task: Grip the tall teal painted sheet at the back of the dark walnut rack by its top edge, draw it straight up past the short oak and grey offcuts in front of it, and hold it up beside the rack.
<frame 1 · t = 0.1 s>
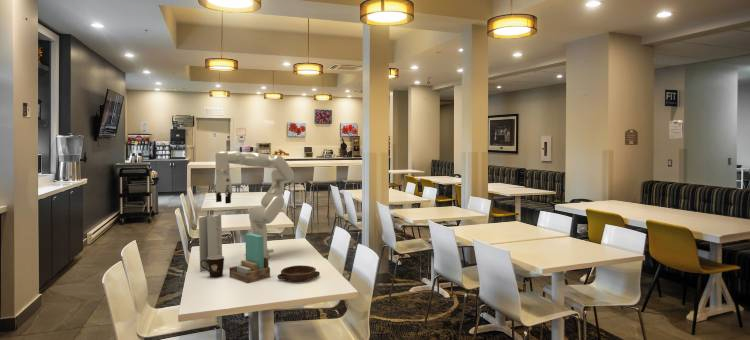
hand: (223, 202, 269), 37 cm above the table, tool pointing down, fingers open, 9 cm apart
coffee mug: (213, 275, 251), on the table
tall grey panel: (211, 268, 265), on the table
rack: (249, 276, 248), on the table
dish: (298, 279, 245), on the table
offcut oak: (249, 277, 248), resting in rack
tall sheet: (255, 275, 251), resting in rack
offcut grey: (244, 278, 245), resting in rack
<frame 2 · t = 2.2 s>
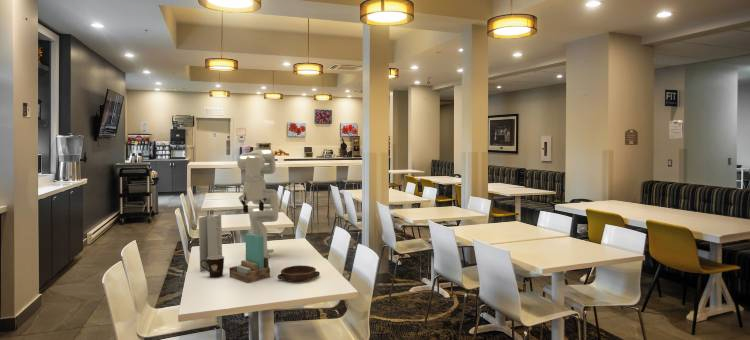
hand: (253, 211, 248), 35 cm above the table, tool pointing down, fingers open, 9 cm apart
nothing on the table moved.
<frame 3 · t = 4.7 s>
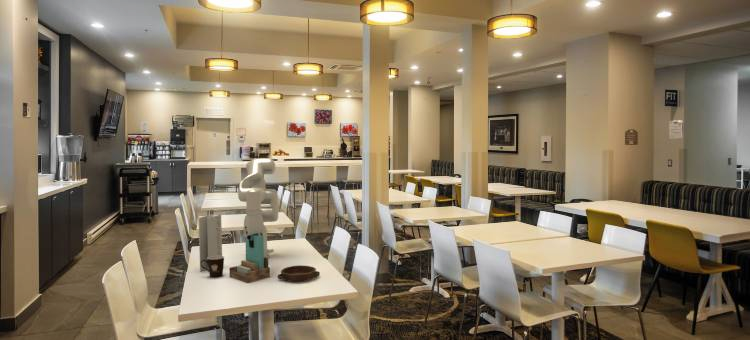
hand: (254, 246, 250), 16 cm above the table, tool pointing down, fingers closed on tall sheet, 3 cm apart
tall sheet: (255, 275, 251), resting in rack, touching gripper
everything else where it was.
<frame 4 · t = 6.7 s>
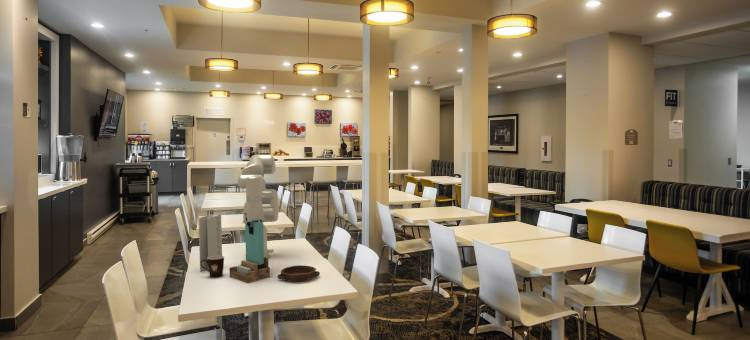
hand: (254, 233, 249), 23 cm above the table, tool pointing down, fingers closed on tall sheet, 3 cm apart
tall sheet: (254, 262, 251), point 7 cm above the table, touching gripper
everything else where it was.
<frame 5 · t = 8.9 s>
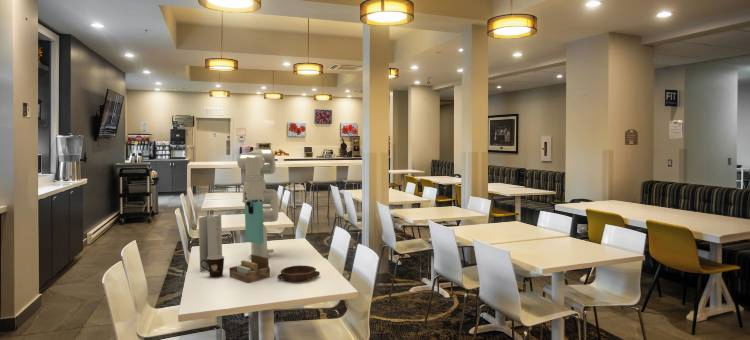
hand: (253, 213, 249), 34 cm above the table, tool pointing down, fingers closed on tall sheet, 3 cm apart
tall sheet: (254, 242, 250), point 18 cm above the table, touching gripper
everything else where it was.
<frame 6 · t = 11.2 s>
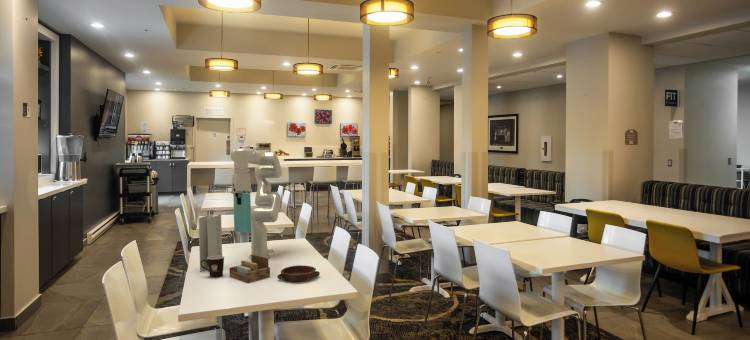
hand: (242, 203, 260), 37 cm above the table, tool pointing down, fingers closed on tall sheet, 3 cm apart
tall sheet: (242, 231, 261), point 21 cm above the table, touching gripper
everything else where it was.
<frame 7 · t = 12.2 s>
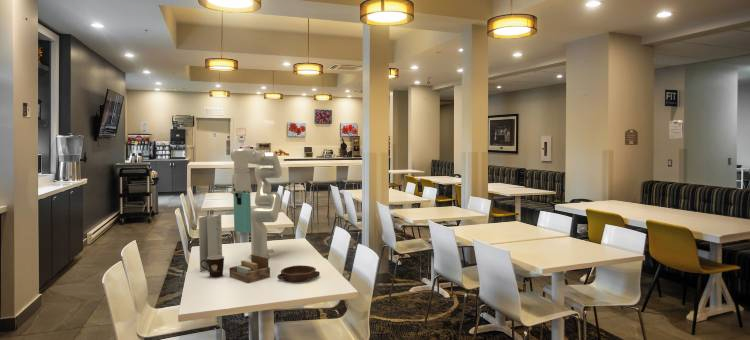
hand: (242, 203, 260), 37 cm above the table, tool pointing down, fingers closed on tall sheet, 3 cm apart
tall sheet: (242, 231, 261), point 21 cm above the table, touching gripper
everything else where it was.
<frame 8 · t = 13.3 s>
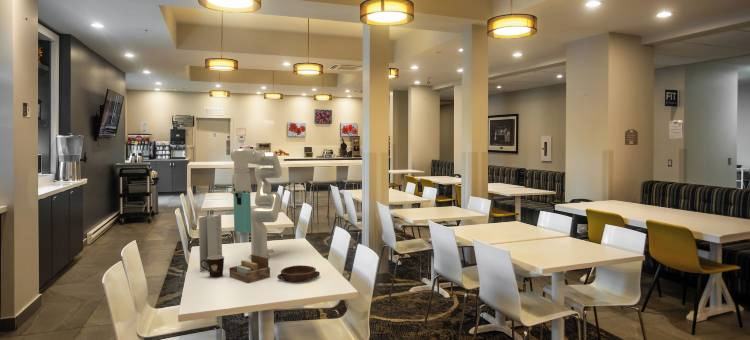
hand: (242, 203, 260), 37 cm above the table, tool pointing down, fingers closed on tall sheet, 3 cm apart
tall sheet: (242, 231, 261), point 21 cm above the table, touching gripper
everything else where it was.
at the end: the gripper is holding tall sheet; tall sheet point 21.4 cm above the table; offcut oak moved 0.1 cm from its start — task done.
